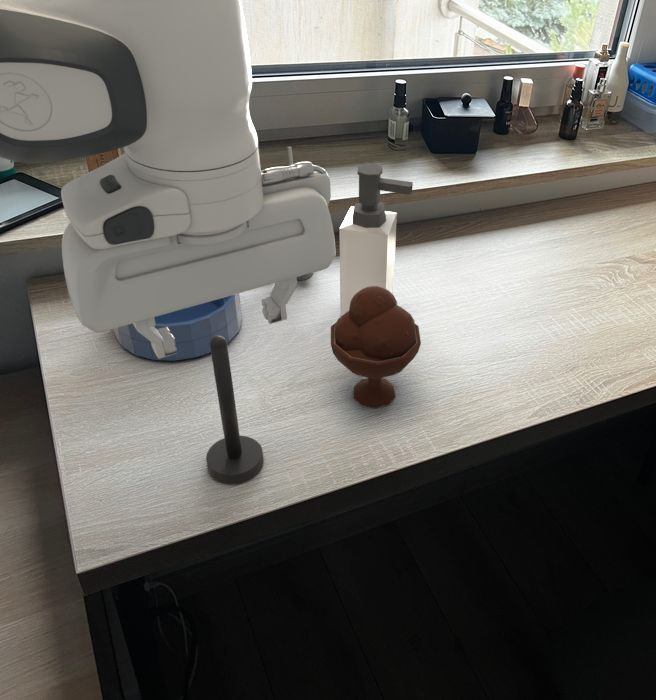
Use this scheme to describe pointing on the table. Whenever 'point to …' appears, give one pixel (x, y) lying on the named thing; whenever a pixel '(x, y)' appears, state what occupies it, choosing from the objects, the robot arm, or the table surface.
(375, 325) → the ice cream bowl
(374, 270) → the soap dispenser
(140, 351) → the mixing bowl
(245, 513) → the table surface
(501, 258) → the table surface
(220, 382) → the peg stand
